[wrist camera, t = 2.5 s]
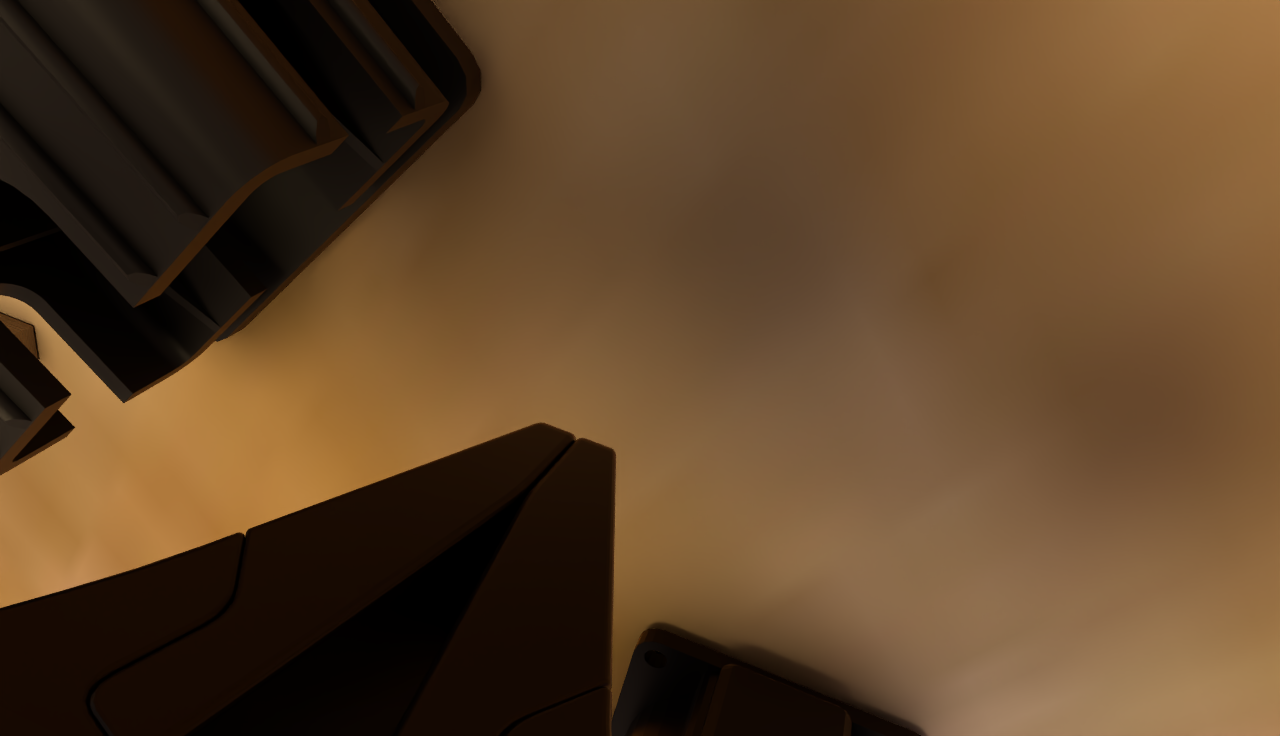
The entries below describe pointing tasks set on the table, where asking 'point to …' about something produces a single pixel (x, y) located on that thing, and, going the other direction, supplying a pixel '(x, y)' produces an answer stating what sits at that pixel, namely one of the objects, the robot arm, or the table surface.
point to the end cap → (192, 168)
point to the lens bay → (21, 332)
